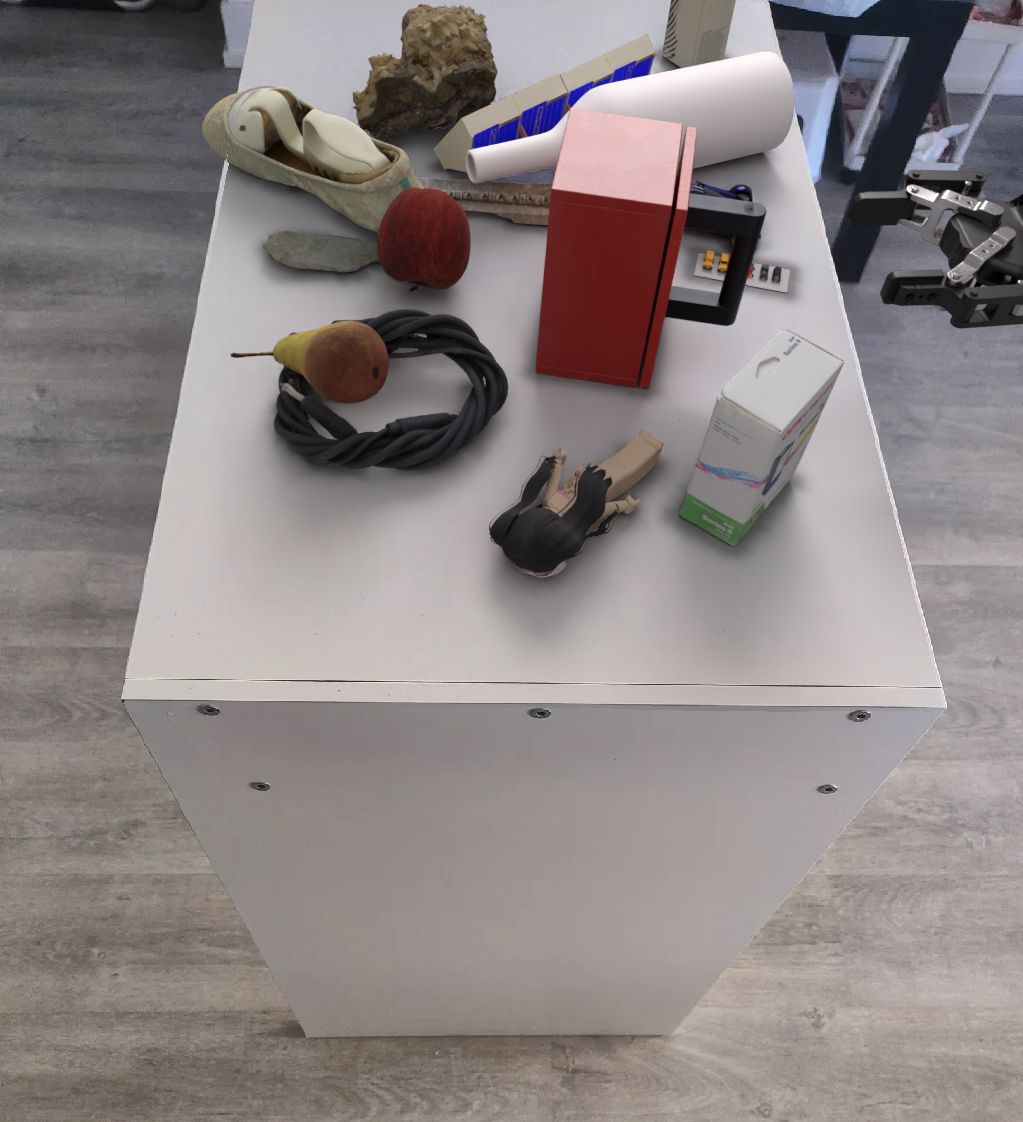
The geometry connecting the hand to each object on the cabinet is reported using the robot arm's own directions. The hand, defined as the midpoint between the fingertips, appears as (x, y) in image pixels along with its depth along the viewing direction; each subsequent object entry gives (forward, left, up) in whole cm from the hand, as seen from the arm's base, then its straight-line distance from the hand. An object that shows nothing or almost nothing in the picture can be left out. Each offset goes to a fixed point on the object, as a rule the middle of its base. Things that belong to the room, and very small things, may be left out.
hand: (868, 247), depth 72 cm
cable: (+32, +11, -12) cm, 36 cm away
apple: (+33, -4, -12) cm, 35 cm away
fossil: (+29, -15, -12) cm, 35 cm away
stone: (+41, -8, -11) cm, 44 cm away
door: (+11, 0, -11) cm, 16 cm away
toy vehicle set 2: (+7, -11, -12) cm, 17 cm away
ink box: (+6, +15, -12) cm, 20 cm away
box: (+13, -44, -12) cm, 47 cm away
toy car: (+11, -16, -12) cm, 23 cm away
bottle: (+6, -31, -7) cm, 32 cm away
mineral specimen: (+38, -28, -12) cm, 48 cm away
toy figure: (+17, +18, -12) cm, 28 cm away
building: (+27, -28, -8) cm, 40 cm away
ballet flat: (+45, -16, -11) cm, 48 cm away
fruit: (+32, +15, -4) cm, 35 cm away
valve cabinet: (+18, 0, -12) cm, 22 cm away
